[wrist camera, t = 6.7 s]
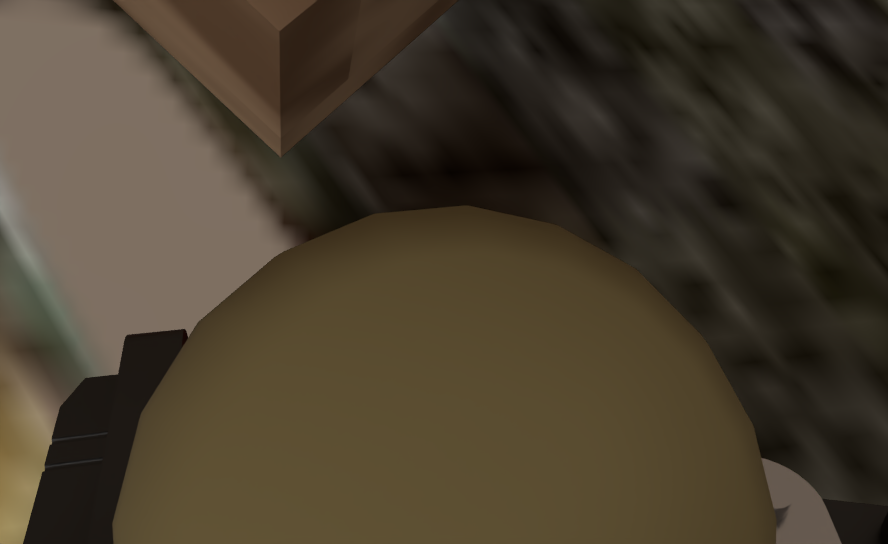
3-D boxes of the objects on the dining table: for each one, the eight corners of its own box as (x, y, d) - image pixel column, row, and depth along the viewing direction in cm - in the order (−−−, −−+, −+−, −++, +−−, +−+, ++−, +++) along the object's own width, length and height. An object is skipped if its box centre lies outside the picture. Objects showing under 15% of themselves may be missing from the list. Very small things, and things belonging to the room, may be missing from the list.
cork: (206, 336, 15) (43, 46, 5) (497, 345, 17) (861, 124, 6) (181, 667, 14) (-129, 1259, 3) (504, 650, 15) (1008, 1053, 5)
